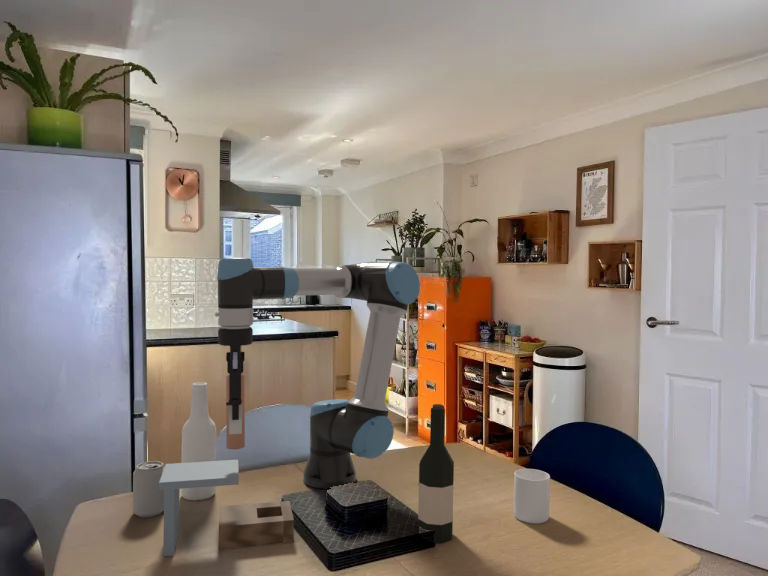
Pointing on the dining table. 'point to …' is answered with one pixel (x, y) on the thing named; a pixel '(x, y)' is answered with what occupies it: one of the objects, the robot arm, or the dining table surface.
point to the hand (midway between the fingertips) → (235, 430)
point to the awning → (190, 477)
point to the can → (148, 489)
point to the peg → (239, 439)
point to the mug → (531, 495)
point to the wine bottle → (436, 482)
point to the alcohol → (199, 439)
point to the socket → (255, 525)
